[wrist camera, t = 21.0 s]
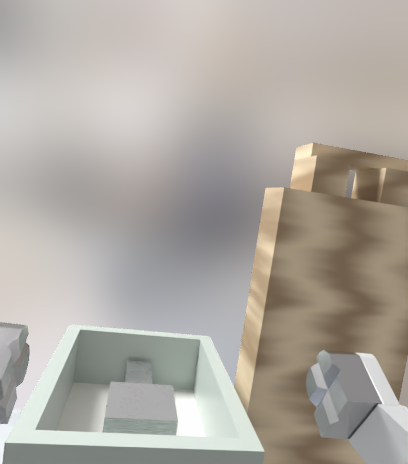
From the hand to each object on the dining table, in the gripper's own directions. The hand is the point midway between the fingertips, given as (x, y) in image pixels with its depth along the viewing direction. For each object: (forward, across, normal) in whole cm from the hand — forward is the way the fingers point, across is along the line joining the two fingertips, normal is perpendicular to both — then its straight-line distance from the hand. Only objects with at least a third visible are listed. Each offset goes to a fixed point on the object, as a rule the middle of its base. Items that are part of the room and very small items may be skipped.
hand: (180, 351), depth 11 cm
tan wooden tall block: (+5, +14, -26) cm, 30 cm away
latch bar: (+7, 0, -18) cm, 19 cm away
